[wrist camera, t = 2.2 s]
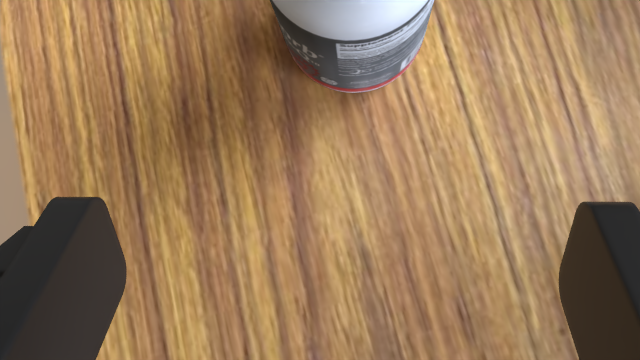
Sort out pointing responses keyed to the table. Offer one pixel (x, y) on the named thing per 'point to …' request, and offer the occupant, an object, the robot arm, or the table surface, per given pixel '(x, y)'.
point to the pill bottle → (353, 39)
